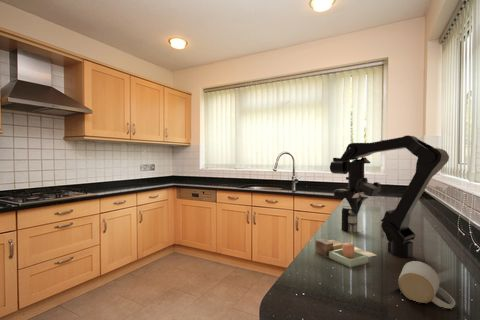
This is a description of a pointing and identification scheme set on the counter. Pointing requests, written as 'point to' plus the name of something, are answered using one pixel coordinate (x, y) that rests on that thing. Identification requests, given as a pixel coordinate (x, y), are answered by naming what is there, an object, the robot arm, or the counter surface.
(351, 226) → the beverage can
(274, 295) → the counter surface
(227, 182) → the counter surface
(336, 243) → the light brown wooden block
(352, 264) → the tray
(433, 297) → the ceramic mug
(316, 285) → the counter surface
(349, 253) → the reddish orange cube
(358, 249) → the board
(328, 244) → the brown block
